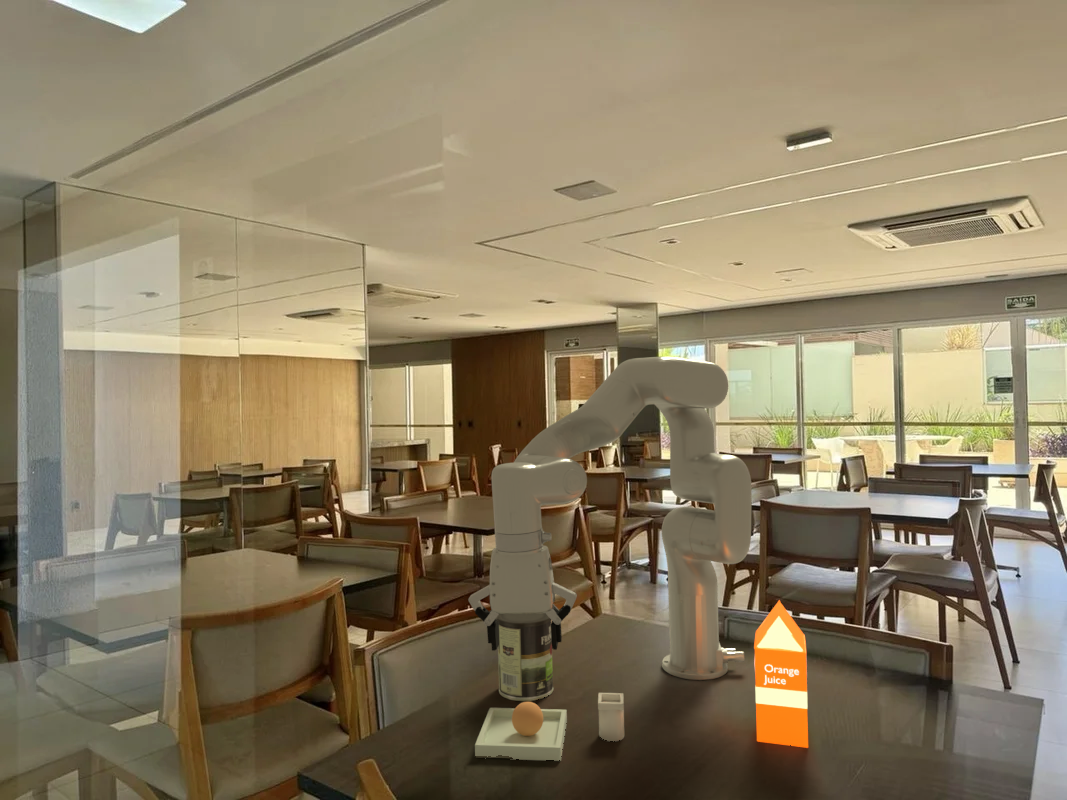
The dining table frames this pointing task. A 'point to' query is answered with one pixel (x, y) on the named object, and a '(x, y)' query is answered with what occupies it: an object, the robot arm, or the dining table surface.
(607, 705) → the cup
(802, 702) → the orange juice
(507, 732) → the tray
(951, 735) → the dining table surface
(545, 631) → the coffee can
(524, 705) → the ball
